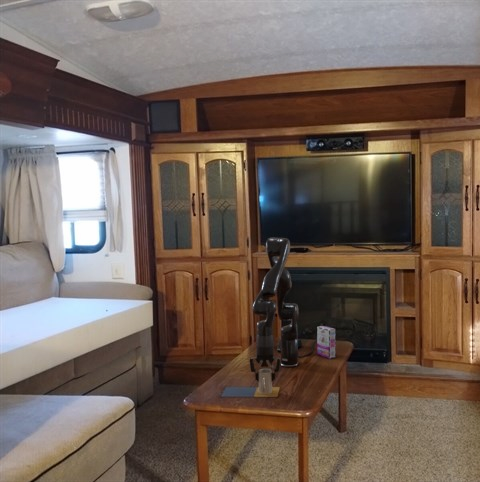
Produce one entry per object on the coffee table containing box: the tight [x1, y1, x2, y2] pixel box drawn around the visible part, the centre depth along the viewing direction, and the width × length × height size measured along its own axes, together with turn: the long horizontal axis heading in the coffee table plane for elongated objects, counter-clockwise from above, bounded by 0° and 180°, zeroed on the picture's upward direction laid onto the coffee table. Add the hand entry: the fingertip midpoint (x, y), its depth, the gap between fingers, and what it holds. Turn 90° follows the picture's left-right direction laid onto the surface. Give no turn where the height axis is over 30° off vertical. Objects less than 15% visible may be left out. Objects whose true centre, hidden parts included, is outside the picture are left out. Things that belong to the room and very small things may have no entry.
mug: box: [257, 368, 273, 394], centre depth 196 cm, size 9×6×10 cm
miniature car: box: [276, 338, 303, 352], centre depth 263 cm, size 9×18×8 cm, turn 156°
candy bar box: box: [316, 325, 337, 360], centre depth 250 cm, size 11×5×16 cm, turn 41°
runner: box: [220, 386, 281, 398], centre depth 197 cm, size 11×25×1 cm, turn 90°
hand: (265, 380), depth 197 cm, fingers closed on mug, 6 cm apart
